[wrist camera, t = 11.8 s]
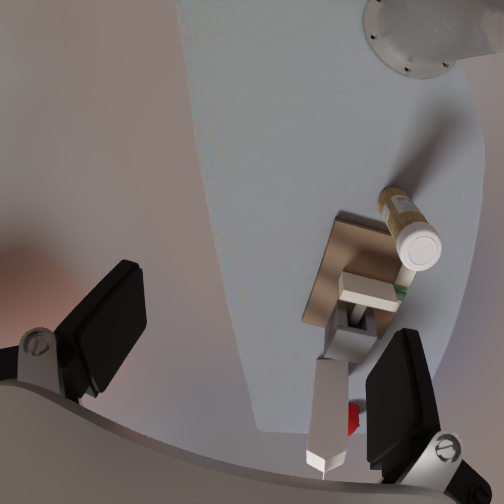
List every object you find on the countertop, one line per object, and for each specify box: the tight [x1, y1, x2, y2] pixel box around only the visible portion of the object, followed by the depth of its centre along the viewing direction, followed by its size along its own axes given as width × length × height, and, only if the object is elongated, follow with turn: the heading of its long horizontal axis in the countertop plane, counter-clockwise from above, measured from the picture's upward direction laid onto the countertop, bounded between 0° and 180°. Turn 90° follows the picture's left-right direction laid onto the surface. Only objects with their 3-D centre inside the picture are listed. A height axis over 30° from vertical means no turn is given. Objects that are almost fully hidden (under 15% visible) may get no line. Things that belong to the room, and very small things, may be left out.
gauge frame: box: [302, 217, 417, 364], centre depth 40 cm, size 18×14×8 cm
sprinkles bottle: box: [378, 187, 442, 271], centre depth 31 cm, size 5×5×14 cm
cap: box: [348, 404, 360, 436], centre depth 57 cm, size 8×6×6 cm
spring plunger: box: [339, 271, 406, 326], centre depth 40 cm, size 7×10×4 cm, turn 81°
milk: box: [307, 359, 348, 480], centre depth 44 cm, size 6×6×22 cm
